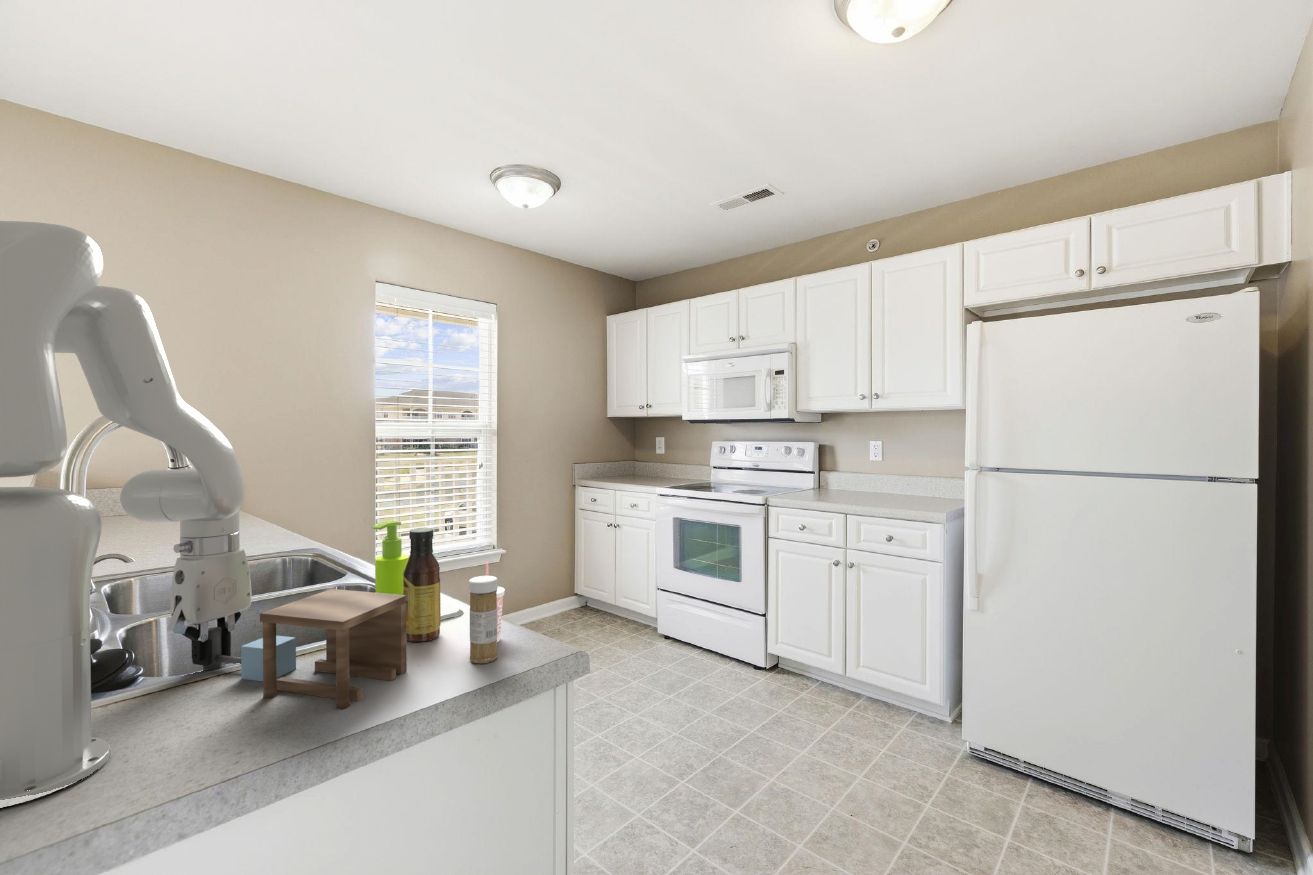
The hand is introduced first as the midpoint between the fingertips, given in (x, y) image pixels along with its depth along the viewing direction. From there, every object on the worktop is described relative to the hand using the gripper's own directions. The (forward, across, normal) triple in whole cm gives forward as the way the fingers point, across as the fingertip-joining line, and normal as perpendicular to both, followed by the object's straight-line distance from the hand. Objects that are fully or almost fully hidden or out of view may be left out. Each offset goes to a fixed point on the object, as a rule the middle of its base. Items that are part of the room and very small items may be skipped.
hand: (211, 659), depth 94 cm
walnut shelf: (+1, 0, -24) cm, 24 cm away
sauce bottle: (+1, +20, -24) cm, 31 cm away
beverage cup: (+1, +22, -36) cm, 42 cm away
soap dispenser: (+1, +24, -14) cm, 28 cm away
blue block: (+1, 0, -6) cm, 6 cm away
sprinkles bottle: (+1, +14, -40) cm, 42 cm away
